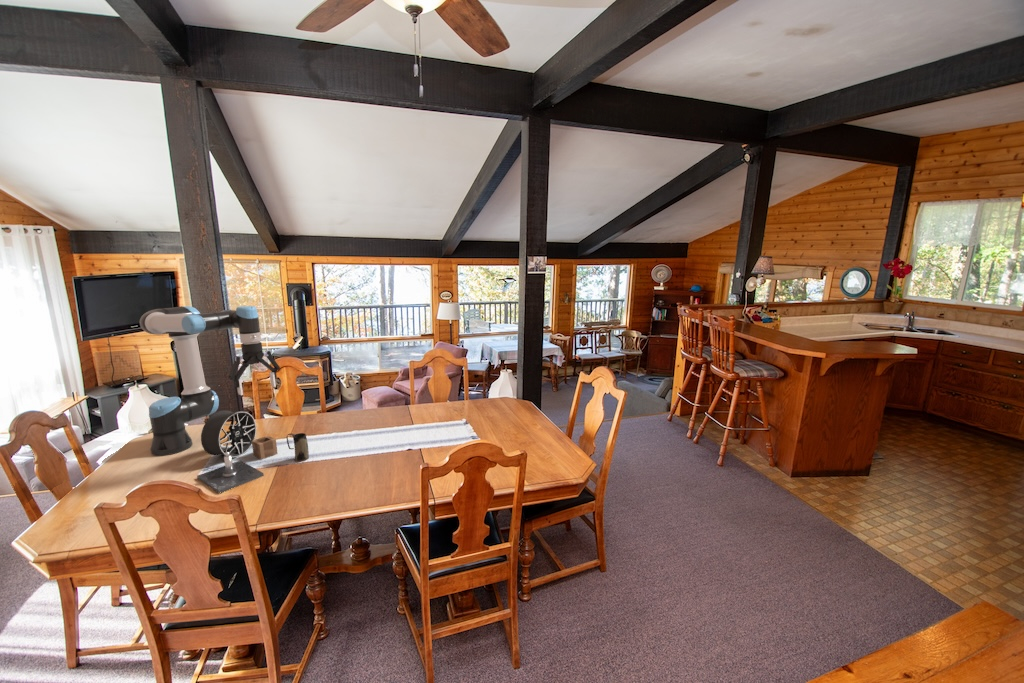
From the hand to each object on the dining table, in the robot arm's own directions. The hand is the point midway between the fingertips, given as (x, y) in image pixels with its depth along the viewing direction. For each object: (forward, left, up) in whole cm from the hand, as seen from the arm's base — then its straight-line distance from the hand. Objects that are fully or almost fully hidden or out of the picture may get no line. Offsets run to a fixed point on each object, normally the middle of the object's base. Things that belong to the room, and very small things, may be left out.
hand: (257, 390), depth 184 cm
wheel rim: (-13, -8, -30) cm, 34 cm away
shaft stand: (+9, -18, -30) cm, 36 cm away
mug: (+17, +6, -30) cm, 35 cm away
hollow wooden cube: (0, 0, -30) cm, 30 cm away
